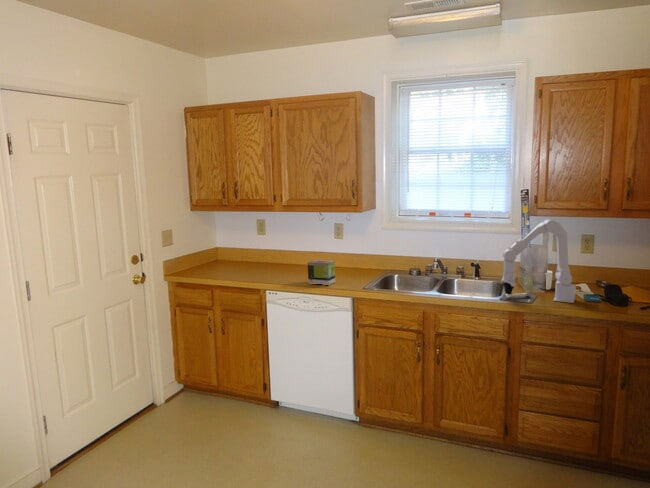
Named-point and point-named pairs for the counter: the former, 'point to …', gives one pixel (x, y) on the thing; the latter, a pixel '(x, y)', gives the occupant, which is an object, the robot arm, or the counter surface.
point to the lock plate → (519, 299)
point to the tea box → (321, 271)
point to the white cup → (548, 279)
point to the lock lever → (518, 295)
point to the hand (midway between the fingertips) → (508, 296)
